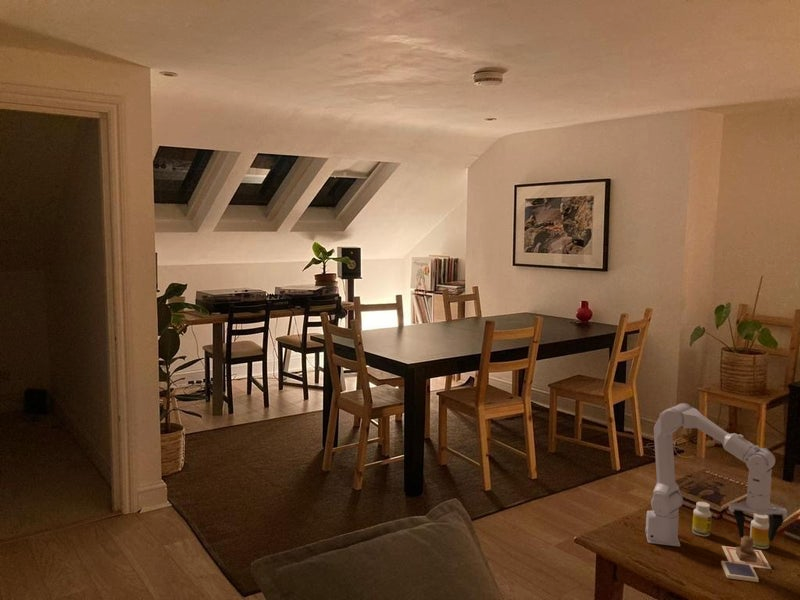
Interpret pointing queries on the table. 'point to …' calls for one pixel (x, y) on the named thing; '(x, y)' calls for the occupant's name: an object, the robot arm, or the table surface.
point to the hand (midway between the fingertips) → (755, 537)
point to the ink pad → (739, 571)
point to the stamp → (746, 550)
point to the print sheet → (733, 557)
